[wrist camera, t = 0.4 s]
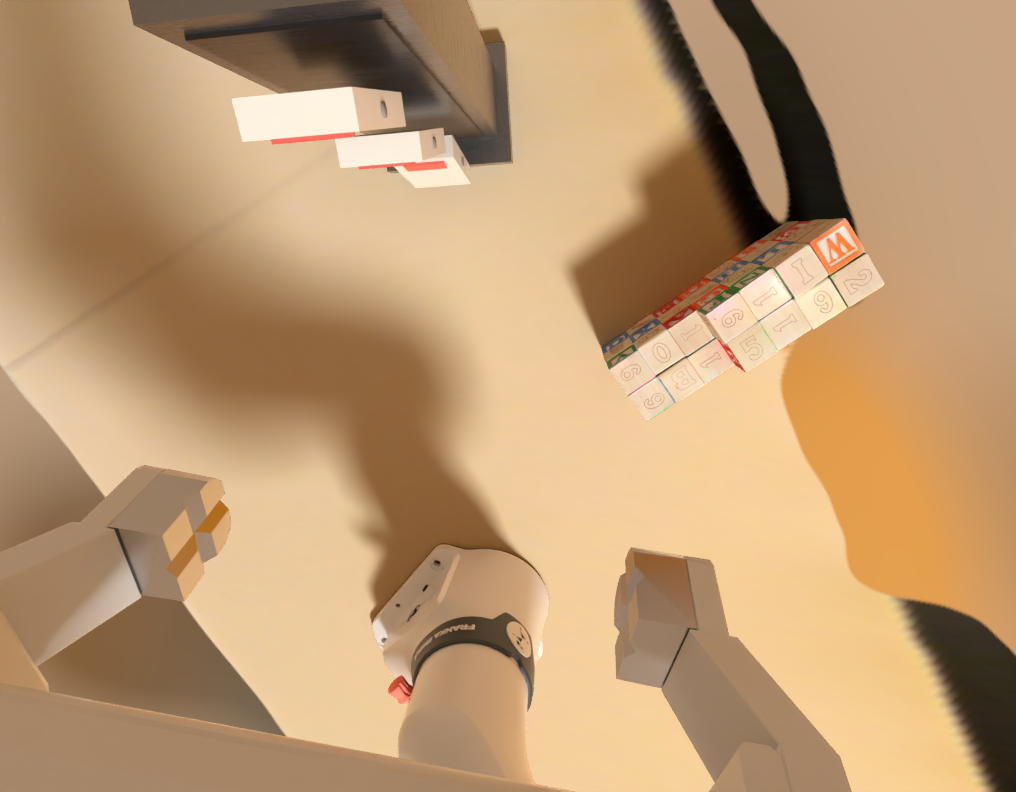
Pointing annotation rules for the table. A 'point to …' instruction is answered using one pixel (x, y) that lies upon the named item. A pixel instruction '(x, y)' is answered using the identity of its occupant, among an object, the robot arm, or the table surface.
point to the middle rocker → (390, 148)
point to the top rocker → (317, 114)
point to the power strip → (357, 57)
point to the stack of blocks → (742, 312)
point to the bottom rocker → (439, 168)
